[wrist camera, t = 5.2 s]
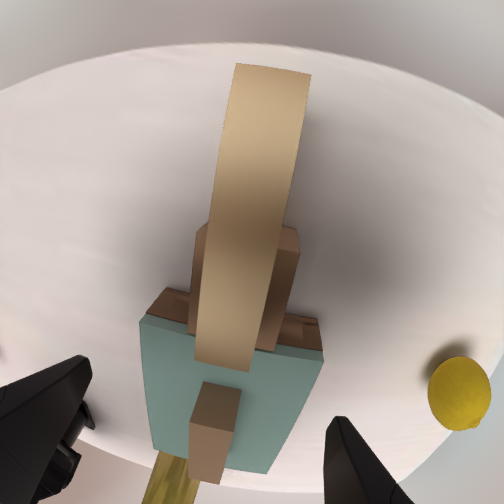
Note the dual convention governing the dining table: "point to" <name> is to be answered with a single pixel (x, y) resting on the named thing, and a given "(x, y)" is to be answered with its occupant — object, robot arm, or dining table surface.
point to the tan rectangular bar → (248, 210)
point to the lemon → (459, 393)
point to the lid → (221, 401)
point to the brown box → (274, 318)
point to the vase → (170, 482)
